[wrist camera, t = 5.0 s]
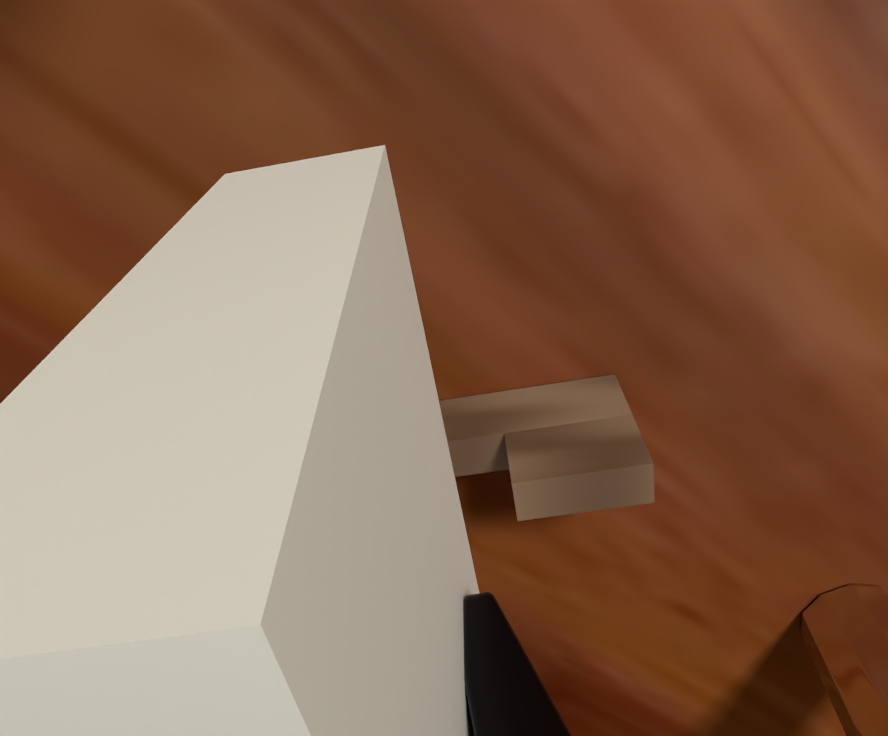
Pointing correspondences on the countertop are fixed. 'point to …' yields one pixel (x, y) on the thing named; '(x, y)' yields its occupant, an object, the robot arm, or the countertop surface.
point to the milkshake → (852, 655)
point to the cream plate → (240, 485)
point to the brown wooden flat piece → (554, 446)
